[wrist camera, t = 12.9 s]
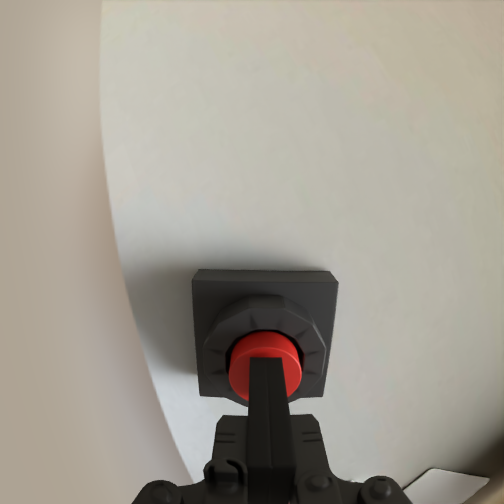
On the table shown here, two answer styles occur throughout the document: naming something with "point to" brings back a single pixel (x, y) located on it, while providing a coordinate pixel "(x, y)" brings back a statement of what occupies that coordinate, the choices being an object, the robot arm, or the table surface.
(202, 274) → the button box
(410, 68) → the table surface
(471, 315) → the table surface
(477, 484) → the grey flat square panel
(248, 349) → the button
